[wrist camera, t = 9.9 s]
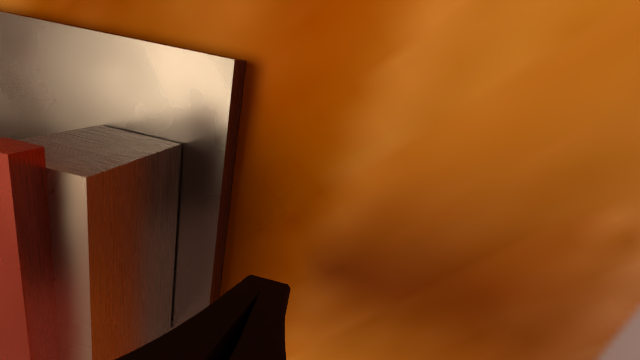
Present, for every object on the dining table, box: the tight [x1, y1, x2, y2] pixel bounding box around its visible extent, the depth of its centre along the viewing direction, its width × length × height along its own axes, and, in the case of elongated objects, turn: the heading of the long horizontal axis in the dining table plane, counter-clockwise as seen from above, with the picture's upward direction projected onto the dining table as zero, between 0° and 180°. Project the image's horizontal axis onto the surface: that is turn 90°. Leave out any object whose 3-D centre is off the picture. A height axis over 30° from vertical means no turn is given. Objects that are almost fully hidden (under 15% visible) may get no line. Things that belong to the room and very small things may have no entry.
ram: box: [0, 125, 181, 360], centre depth 11 cm, size 9×3×5 cm, turn 170°
